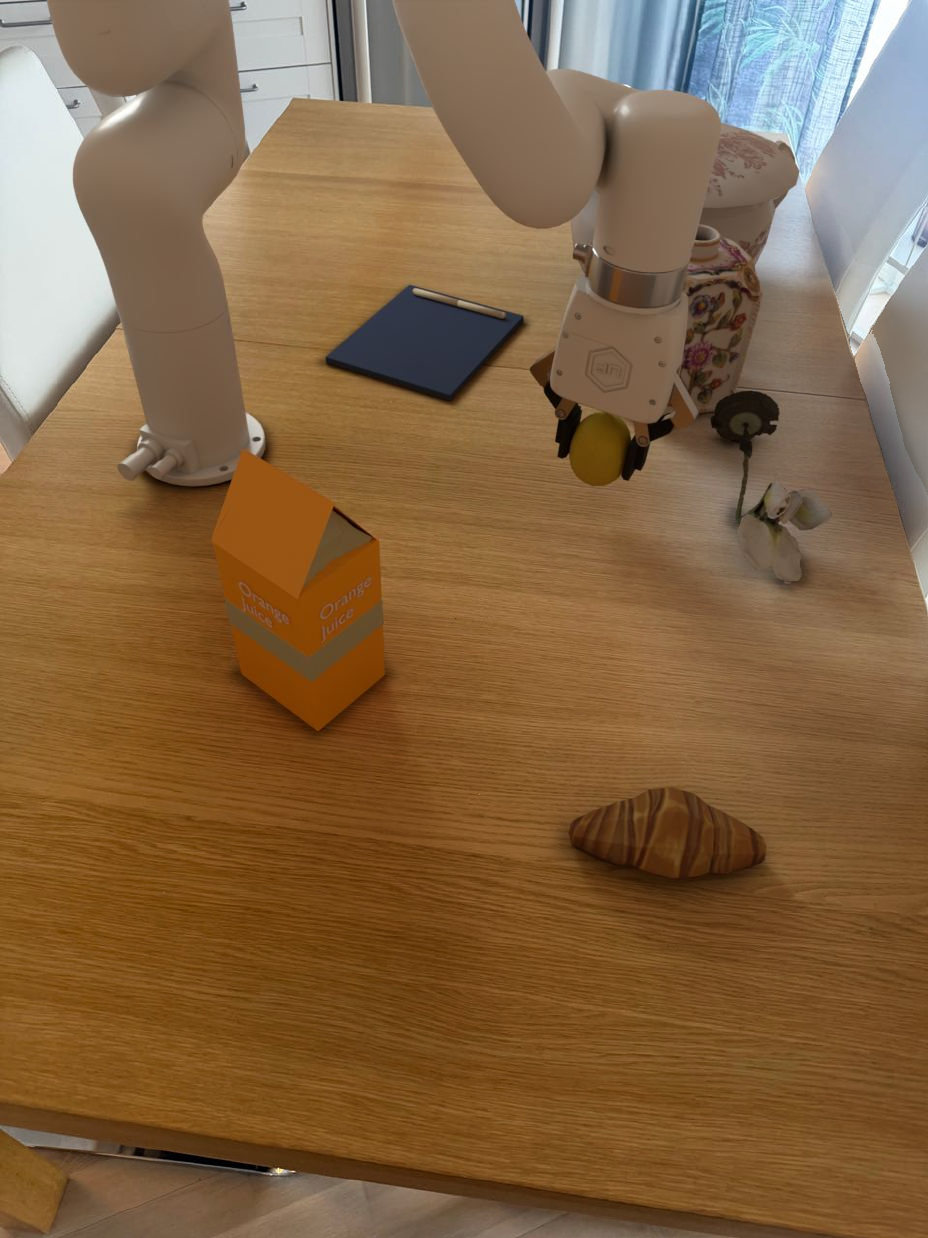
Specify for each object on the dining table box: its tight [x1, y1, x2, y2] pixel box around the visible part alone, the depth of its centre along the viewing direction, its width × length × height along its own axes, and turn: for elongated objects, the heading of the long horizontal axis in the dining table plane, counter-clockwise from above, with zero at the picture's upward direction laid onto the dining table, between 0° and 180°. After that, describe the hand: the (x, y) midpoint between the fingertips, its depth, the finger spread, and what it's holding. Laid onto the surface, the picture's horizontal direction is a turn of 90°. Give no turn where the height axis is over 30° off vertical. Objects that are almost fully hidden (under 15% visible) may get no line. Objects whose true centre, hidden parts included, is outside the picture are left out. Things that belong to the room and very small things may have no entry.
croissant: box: [568, 786, 767, 879], centre depth 63 cm, size 14×7×5 cm, turn 85°
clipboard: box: [325, 284, 525, 402], centre depth 110 cm, size 20×16×2 cm
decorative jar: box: [663, 224, 763, 415], centre depth 98 cm, size 12×12×18 cm
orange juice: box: [210, 448, 386, 732], centre depth 67 cm, size 8×9×20 cm
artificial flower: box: [710, 390, 834, 585], centre depth 88 cm, size 9×22×10 cm, turn 171°
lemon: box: [568, 411, 632, 487], centre depth 84 cm, size 6×6×8 cm
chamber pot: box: [570, 122, 800, 274], centre depth 113 cm, size 28×28×21 cm
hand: (598, 459), depth 85 cm, fingers closed on lemon, 5 cm apart
